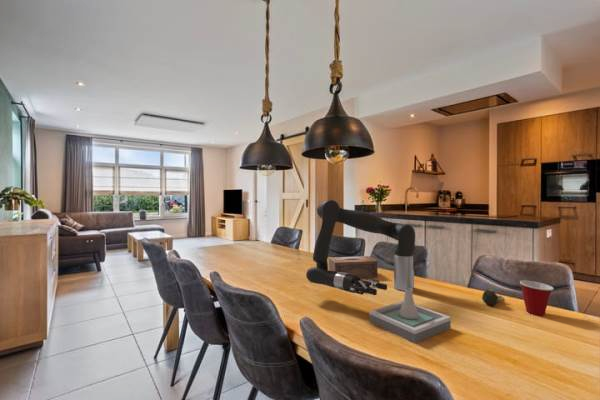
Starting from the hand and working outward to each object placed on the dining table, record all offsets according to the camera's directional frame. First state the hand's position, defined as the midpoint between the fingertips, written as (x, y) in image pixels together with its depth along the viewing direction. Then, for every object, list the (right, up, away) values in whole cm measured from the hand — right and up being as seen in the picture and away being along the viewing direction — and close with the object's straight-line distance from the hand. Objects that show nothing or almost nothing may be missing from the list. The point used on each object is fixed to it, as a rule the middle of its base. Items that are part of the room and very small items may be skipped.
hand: (381, 289), depth 117 cm
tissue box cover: (0, -11, +63) cm, 64 cm away
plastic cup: (+63, -11, +3) cm, 64 cm away
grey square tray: (+8, -11, -7) cm, 15 cm away
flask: (+8, -8, -7) cm, 13 cm away
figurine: (+54, -11, +16) cm, 57 cm away
